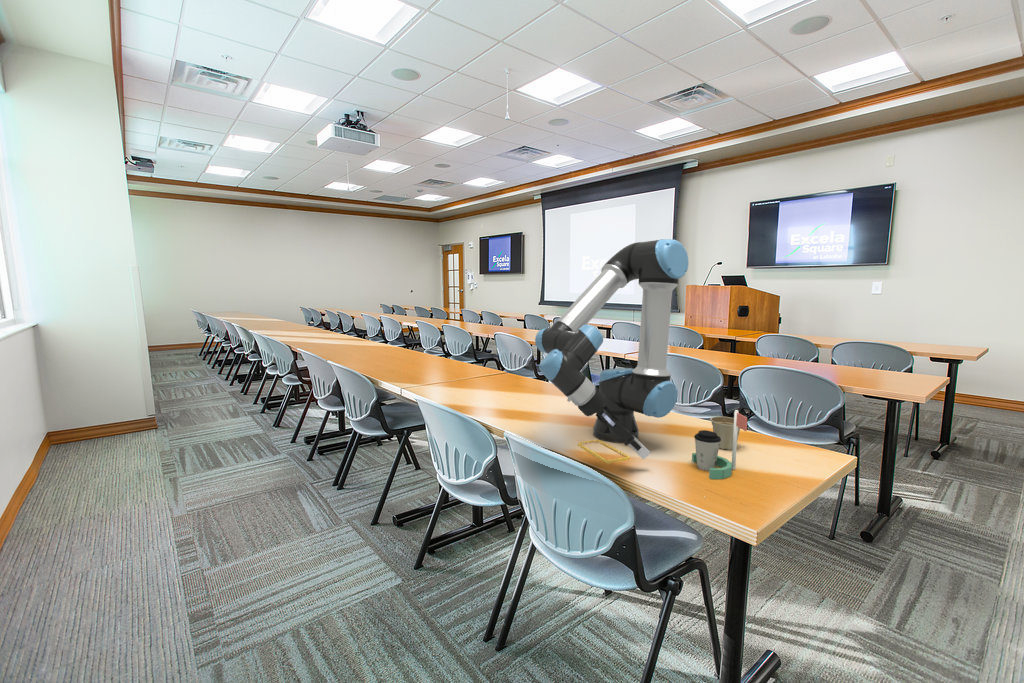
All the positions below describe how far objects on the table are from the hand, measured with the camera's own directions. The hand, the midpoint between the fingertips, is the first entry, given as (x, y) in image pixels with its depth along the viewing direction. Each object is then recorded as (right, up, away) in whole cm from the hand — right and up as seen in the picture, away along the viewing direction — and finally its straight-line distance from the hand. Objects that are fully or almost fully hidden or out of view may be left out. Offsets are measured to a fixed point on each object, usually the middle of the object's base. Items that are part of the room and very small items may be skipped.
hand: (646, 455), depth 125 cm
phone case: (-9, -3, +15) cm, 18 cm away
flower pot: (+31, -2, +19) cm, 36 cm away
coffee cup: (+17, -4, +2) cm, 18 cm away
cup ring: (+19, -4, +1) cm, 20 cm away
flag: (+24, -5, -2) cm, 25 cm away
